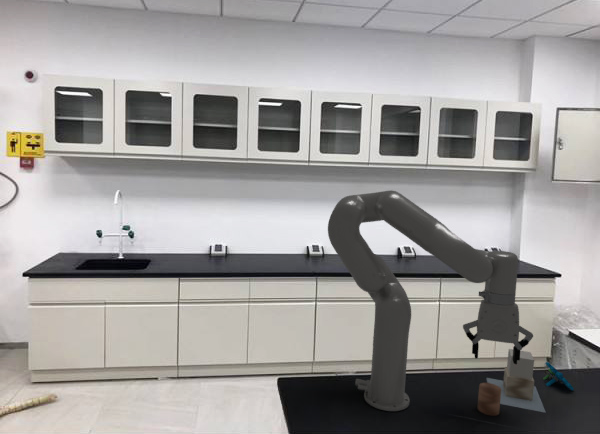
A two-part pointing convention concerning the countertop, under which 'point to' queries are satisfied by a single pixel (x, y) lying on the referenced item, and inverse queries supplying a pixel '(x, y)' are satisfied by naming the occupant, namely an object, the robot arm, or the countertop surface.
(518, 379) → the lower block
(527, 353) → the upper block
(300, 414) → the countertop surface
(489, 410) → the cylinder
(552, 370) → the blue angular piece
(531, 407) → the mat
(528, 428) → the countertop surface
